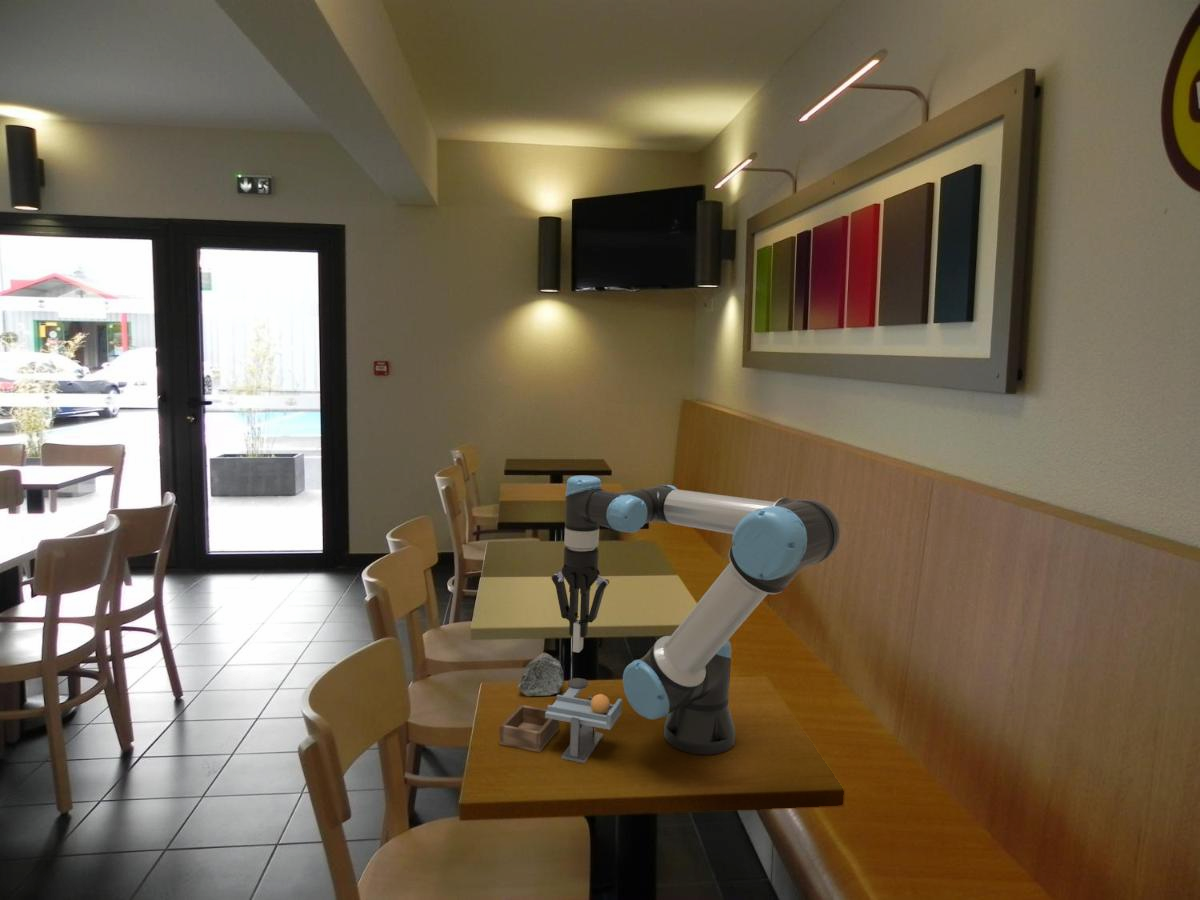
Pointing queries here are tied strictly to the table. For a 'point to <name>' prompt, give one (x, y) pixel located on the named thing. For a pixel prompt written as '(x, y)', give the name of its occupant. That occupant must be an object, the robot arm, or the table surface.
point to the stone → (542, 676)
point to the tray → (528, 729)
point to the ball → (600, 704)
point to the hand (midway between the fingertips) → (577, 649)
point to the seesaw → (582, 708)
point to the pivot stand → (581, 741)
